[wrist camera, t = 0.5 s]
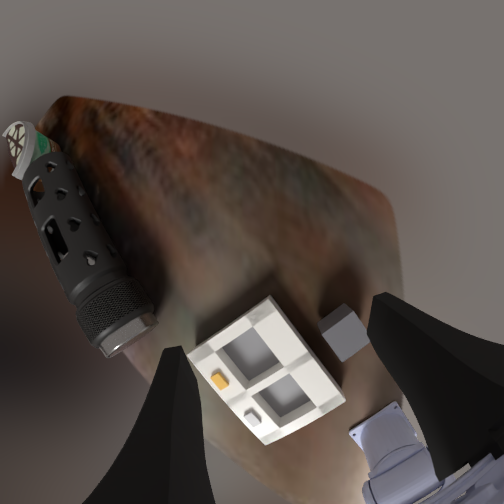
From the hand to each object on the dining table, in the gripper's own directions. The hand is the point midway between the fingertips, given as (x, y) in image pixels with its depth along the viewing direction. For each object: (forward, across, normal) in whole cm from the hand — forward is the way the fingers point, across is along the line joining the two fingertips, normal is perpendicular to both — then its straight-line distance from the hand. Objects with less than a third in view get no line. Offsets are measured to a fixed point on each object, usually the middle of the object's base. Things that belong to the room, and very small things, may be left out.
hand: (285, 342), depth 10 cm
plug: (+16, -11, +17) cm, 26 cm away
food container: (+42, +28, -8) cm, 51 cm away
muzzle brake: (+30, +18, +7) cm, 36 cm away
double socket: (+15, -1, +22) cm, 27 cm away
